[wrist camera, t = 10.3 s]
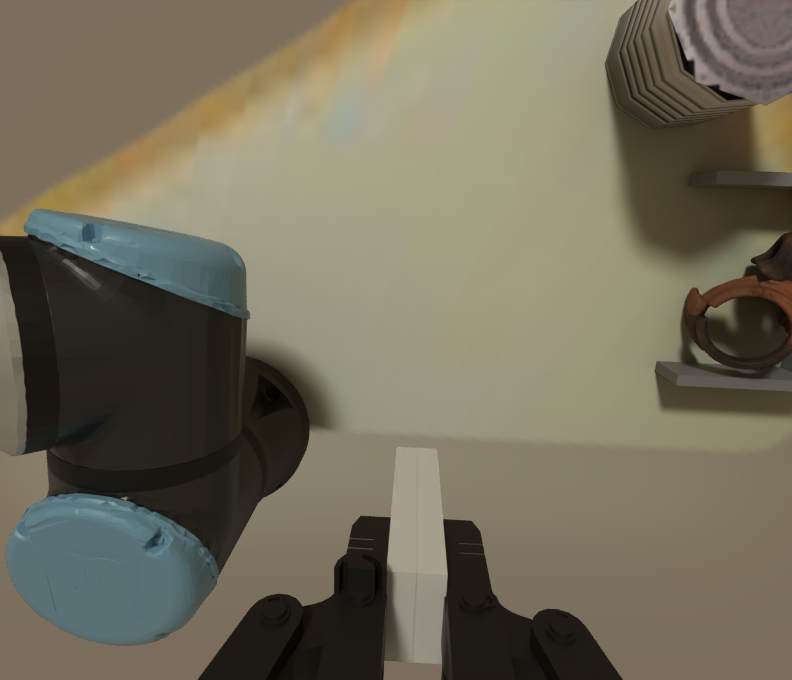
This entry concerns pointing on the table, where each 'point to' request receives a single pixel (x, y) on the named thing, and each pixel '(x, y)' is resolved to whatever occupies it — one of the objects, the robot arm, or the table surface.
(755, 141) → the table surface
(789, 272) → the brown ring with knob
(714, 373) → the box
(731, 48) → the can
